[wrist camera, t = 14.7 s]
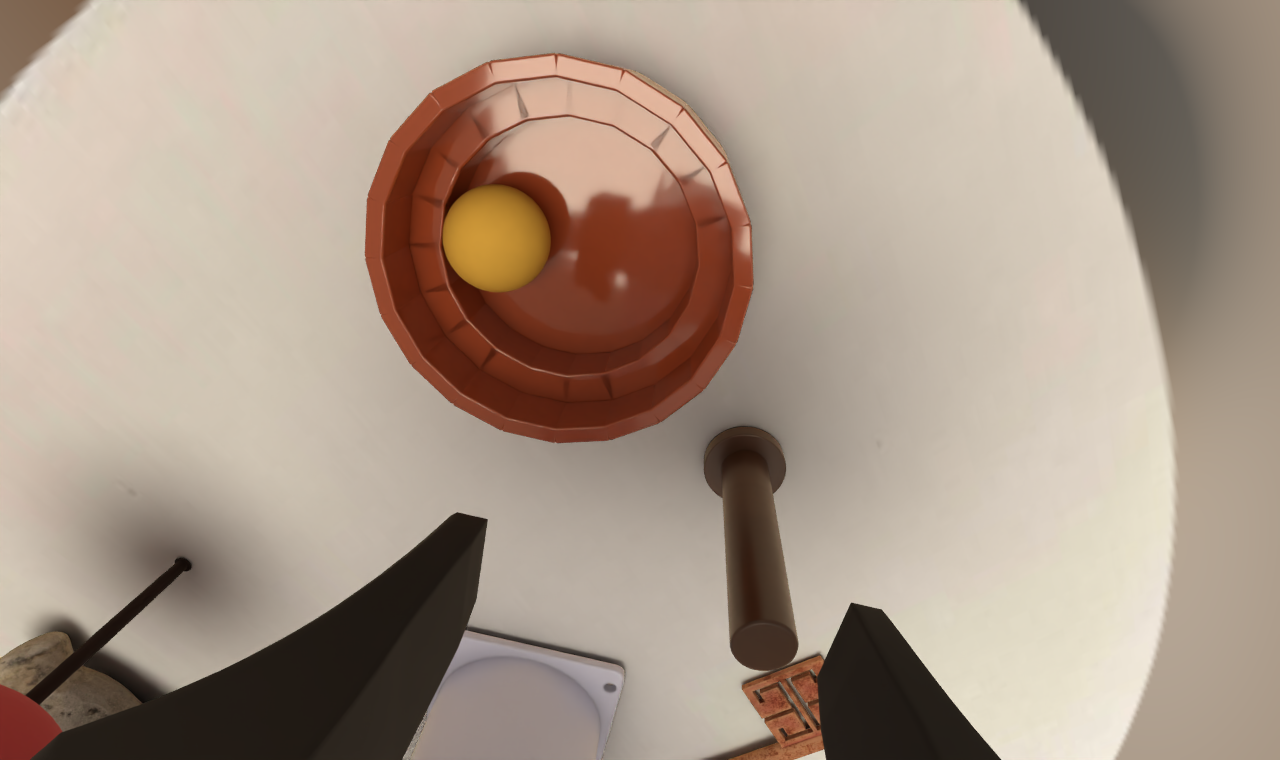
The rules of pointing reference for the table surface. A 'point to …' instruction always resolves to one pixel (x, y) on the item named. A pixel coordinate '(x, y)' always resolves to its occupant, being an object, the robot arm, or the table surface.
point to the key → (787, 712)
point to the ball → (496, 238)
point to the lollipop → (18, 726)
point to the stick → (753, 546)
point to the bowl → (565, 248)
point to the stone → (78, 695)
